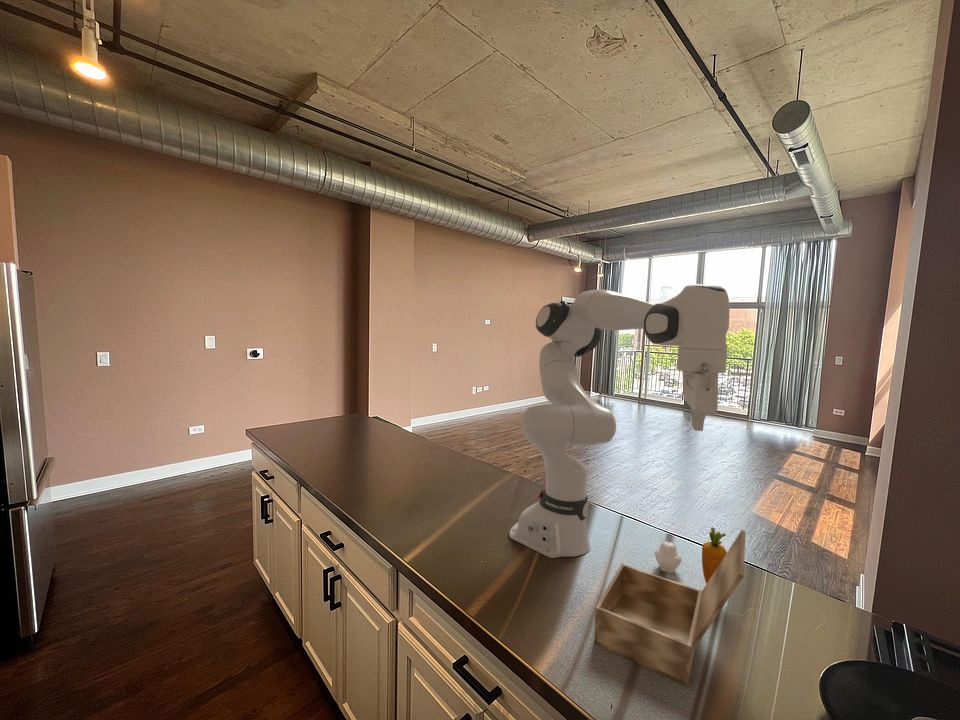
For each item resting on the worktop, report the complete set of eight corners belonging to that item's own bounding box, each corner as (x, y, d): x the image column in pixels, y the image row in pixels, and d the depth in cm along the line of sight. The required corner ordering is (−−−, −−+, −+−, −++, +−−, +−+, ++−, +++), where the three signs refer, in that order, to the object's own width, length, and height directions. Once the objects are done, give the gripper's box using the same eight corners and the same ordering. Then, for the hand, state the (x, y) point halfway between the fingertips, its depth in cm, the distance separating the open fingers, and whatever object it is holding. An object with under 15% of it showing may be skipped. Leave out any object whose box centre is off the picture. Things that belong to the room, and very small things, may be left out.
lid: (739, 573, 62) (744, 576, 61) (742, 529, 76) (746, 532, 76) (691, 644, 66) (695, 647, 66) (702, 590, 80) (706, 592, 80)
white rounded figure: (649, 568, 100) (651, 541, 100) (659, 559, 104) (661, 533, 104) (675, 579, 96) (677, 551, 95) (684, 569, 100) (686, 542, 100)
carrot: (701, 583, 95) (705, 521, 94) (726, 592, 92) (730, 528, 91) (697, 593, 91) (701, 529, 90) (722, 603, 88) (726, 537, 87)
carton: (593, 643, 75) (595, 607, 75) (620, 593, 90) (621, 563, 90) (688, 687, 66) (691, 646, 66) (700, 624, 81) (702, 590, 81)
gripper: (729, 367, 71) (724, 443, 72) (710, 361, 90) (706, 421, 91) (690, 365, 73) (685, 439, 74) (679, 360, 92) (676, 419, 93)
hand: (697, 429), depth 83 cm, fingers closed
